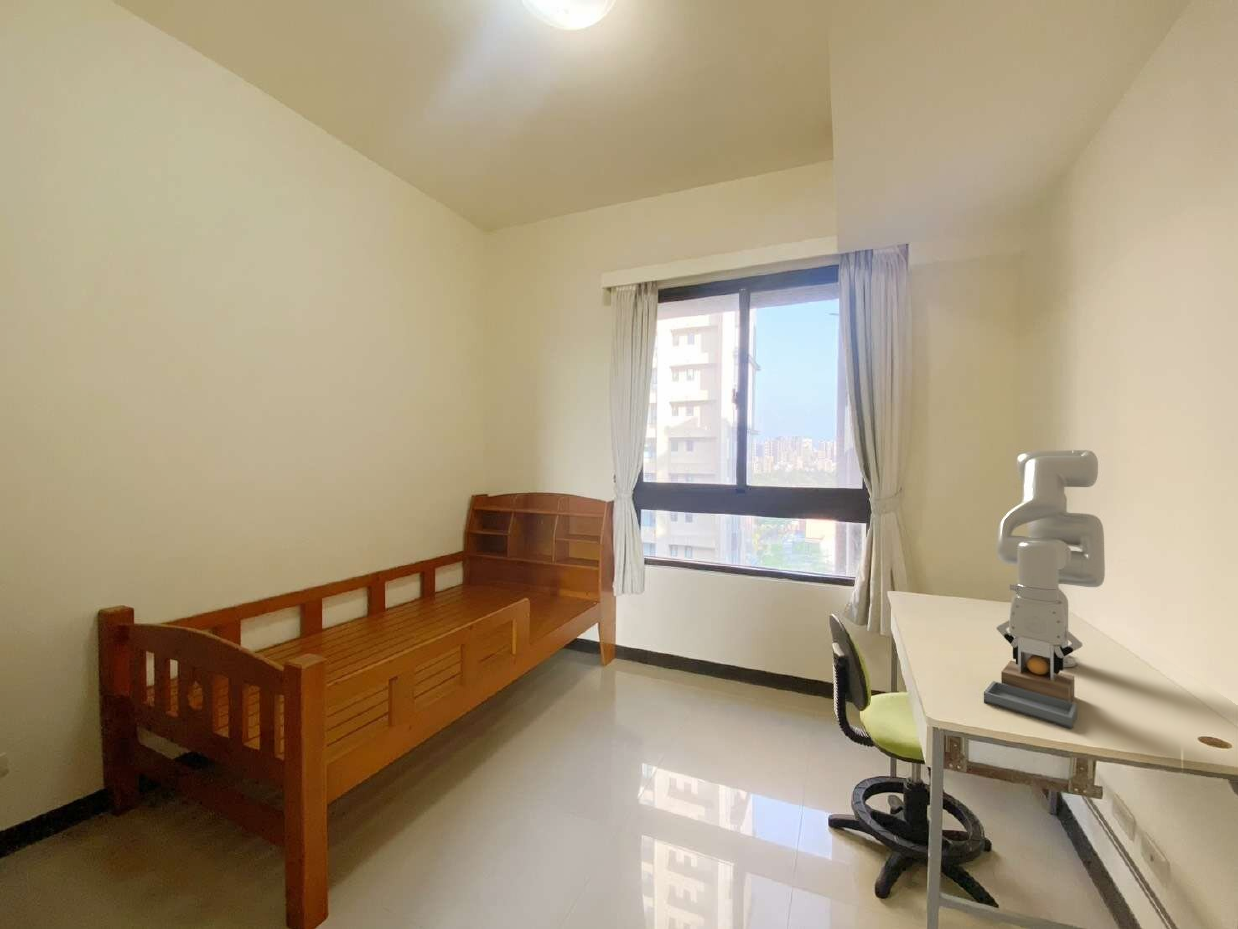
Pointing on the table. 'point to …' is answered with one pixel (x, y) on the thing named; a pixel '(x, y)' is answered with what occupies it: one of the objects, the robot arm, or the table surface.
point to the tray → (1031, 704)
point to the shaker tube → (1035, 653)
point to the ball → (1037, 665)
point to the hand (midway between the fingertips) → (1037, 666)
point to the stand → (1039, 682)
